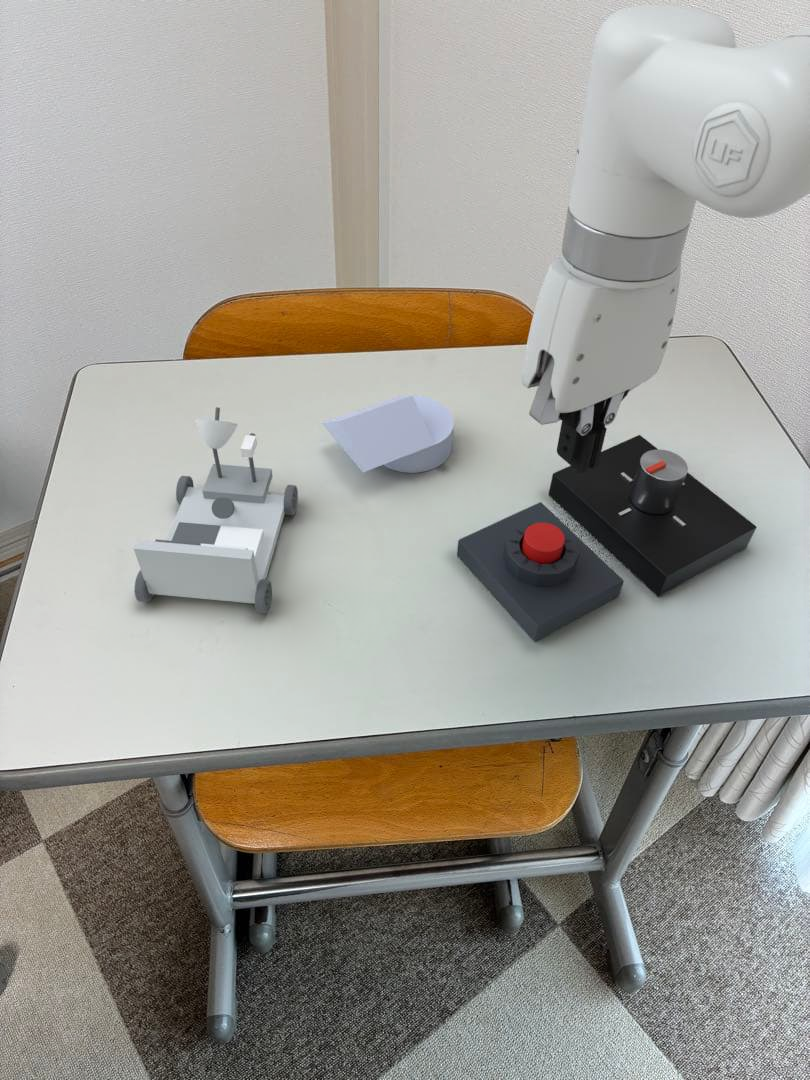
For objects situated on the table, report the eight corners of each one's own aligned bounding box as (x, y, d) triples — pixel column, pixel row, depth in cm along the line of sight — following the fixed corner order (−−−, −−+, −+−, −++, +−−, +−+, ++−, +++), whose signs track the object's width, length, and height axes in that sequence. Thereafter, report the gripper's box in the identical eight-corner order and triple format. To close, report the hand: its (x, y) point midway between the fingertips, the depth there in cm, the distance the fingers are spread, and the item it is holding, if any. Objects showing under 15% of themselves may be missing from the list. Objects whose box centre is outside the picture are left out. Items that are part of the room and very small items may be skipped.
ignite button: (569, 554, 72) (573, 541, 71) (538, 570, 71) (541, 557, 70) (544, 530, 74) (547, 516, 73) (514, 544, 73) (516, 531, 72)
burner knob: (652, 478, 80) (665, 441, 77) (684, 504, 78) (698, 467, 74) (620, 493, 79) (631, 456, 75) (651, 520, 76) (664, 483, 73)
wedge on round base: (363, 496, 82) (467, 455, 87) (362, 446, 77) (472, 405, 82) (323, 447, 87) (423, 410, 92) (319, 397, 82) (425, 361, 87)
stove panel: (746, 547, 78) (757, 525, 76) (658, 597, 74) (667, 575, 71) (633, 455, 87) (640, 433, 85) (548, 494, 83) (552, 472, 80)
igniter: (619, 596, 74) (629, 567, 71) (534, 642, 70) (541, 614, 67) (537, 517, 80) (543, 488, 78) (456, 555, 77) (459, 526, 74)
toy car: (177, 398, 76) (296, 407, 76) (194, 474, 84) (303, 483, 83) (112, 533, 64) (253, 545, 64) (138, 608, 71) (266, 620, 71)
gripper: (664, 193, 56) (613, 406, 69) (493, 245, 50) (473, 467, 63) (749, 234, 51) (677, 454, 65) (572, 297, 46) (533, 523, 59)
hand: (576, 460), depth 64 cm, fingers closed
